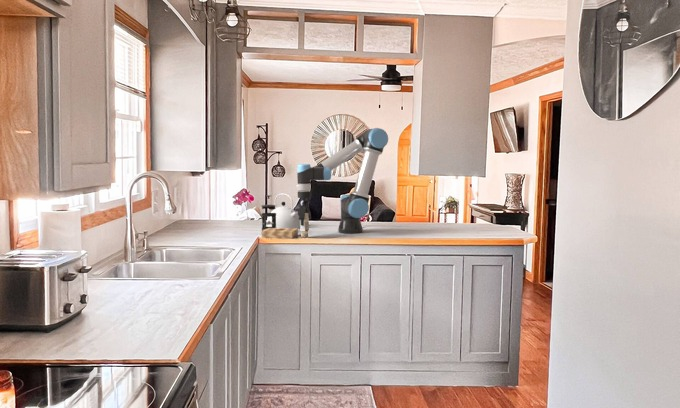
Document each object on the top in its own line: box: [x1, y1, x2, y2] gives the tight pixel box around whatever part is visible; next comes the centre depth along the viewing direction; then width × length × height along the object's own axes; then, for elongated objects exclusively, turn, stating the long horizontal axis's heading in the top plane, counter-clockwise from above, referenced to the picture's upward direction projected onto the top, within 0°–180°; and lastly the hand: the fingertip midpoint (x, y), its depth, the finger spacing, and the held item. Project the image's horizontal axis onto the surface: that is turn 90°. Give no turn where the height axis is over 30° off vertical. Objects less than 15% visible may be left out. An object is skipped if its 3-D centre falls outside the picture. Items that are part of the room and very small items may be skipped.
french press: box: [261, 194, 277, 234], centre depth 338 cm, size 12×9×23 cm
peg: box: [300, 213, 310, 239], centre depth 323 cm, size 5×5×14 cm
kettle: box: [266, 192, 300, 230], centre depth 364 cm, size 25×23×22 cm
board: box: [261, 228, 299, 240], centre depth 327 cm, size 18×14×4 cm
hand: (304, 229), depth 324 cm, fingers open, 8 cm apart
